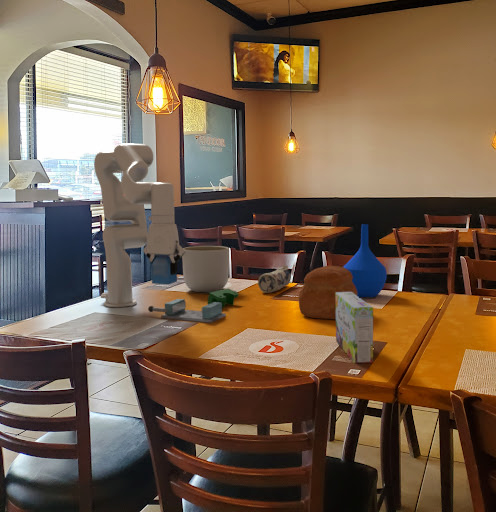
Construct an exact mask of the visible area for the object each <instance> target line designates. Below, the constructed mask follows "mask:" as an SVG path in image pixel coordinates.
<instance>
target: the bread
mask: <svg viewBox="0 0 496 512" xmlns="http://www.w3.org/2000/svg"><path fill="white" fill-rule="evenodd" d="M352 279H353V276H352V274H351V272H350V271H349V270H347V269H346V268H344V266H340V265H339V266H338V265H324V266H322V267H317V268H314V269H313V270H311V271H310V272H307V274H306V275H305V277H304V278H303V282H304V284H303V286H302V288H301V289H300V291H299V294H298V307H299V310H300V311H299V312H300V313H301V315H302V316H305V317H308V318H314V319H322V320H336V302H335V293H336V292H353V293H354V294H355V295H357V290H356V287H355V285H354V284H353V282H352Z"/></svg>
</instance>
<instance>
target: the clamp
mask: <svg viewBox="0 0 496 512" xmlns="http://www.w3.org/2000/svg"><path fill="white" fill-rule="evenodd" d="M238 297H239V292H237V291H236V290H233V289H231V288H225V289H224V288H223V289H221V290H219V291H215V292H209V293H208V298H207V304H206V305H208V304H211V303H213V302H219V303H222V309H224V308H225V307H226V305H229V306H234V301H235V299H236V298H238Z"/></svg>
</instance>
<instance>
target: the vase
mask: <svg viewBox="0 0 496 512" xmlns="http://www.w3.org/2000/svg"><path fill="white" fill-rule="evenodd" d="M360 230H361V231H360V232H361V233H360V237H361V238H360V247H359V249H358V251H357V252H356V253H355V254H354V255H353V256H352V257H351V258H350V259H349V260H348V262H347V263H346V264H344V265H343V267H344V268H346V269H347V270H349V271H350V272H351V274H352V276H353V279H352V282H353V284H354V285H355V287H356V290H357V296H358V297H371V298H375V297H377V296H378V295H379V294H380V293H381V292H382V290H383V288H384V287H385V284H386V281H387V278H388V277H387V276H388V273H387V269H386V267H385V265H384V264H383V263H382V262H381V260H379V259H378V257H376V256H375V254H374V253H373V252H372V251H371V248H370V247H369V224H363V223H362V224H361V229H360Z"/></svg>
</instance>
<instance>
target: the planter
mask: <svg viewBox="0 0 496 512" xmlns="http://www.w3.org/2000/svg"><path fill="white" fill-rule="evenodd" d="M182 248H183V247H182ZM183 249H184V250H185V254H184V255H183V256H182V257H181V258H182V260H181V261H182V274H183V280H184V284H185V286H186V287H187V288H188V289H189V290H190V291H192V292H193V293H202V294H203V293H204V294H205V293H207V294H209V293H210V292H215V291H219V290H224V287H226V286H227V284H228V282H229V274H230V272H229V271H230V248H229V247H227V246H222V245H198V246H195V245H194V246H187V247H184V248H183Z"/></svg>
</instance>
